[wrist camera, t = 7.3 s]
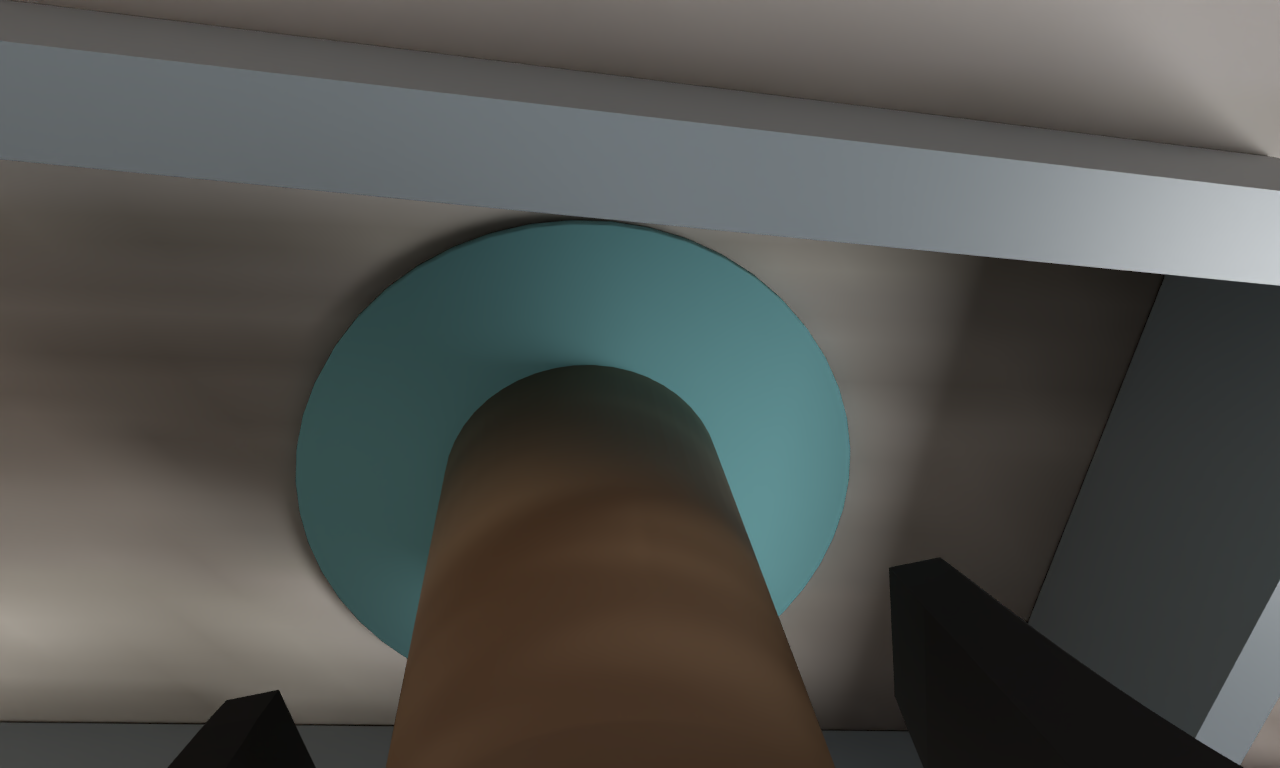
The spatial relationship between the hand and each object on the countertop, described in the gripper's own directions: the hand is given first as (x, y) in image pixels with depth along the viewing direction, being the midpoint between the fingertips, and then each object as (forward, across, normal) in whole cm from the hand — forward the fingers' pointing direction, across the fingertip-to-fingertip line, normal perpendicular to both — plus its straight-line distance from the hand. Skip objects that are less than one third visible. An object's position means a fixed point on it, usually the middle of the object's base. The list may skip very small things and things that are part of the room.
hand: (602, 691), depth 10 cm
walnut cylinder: (+4, 0, 0) cm, 4 cm away
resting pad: (+5, 0, 0) cm, 5 cm away
